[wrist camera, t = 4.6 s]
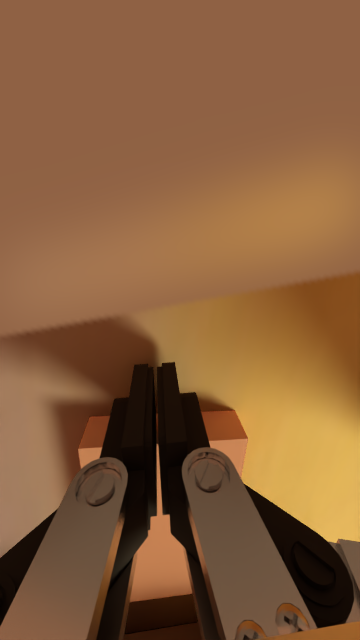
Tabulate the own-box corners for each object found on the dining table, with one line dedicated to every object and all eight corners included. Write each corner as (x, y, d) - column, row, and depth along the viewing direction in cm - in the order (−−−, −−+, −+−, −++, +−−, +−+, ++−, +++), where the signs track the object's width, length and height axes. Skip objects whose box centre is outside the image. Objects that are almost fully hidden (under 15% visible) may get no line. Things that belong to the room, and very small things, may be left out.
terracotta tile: (212, 544, 16) (220, 589, 14) (109, 555, 15) (101, 605, 13) (231, 403, 12) (247, 438, 10) (92, 409, 11) (78, 448, 9)
